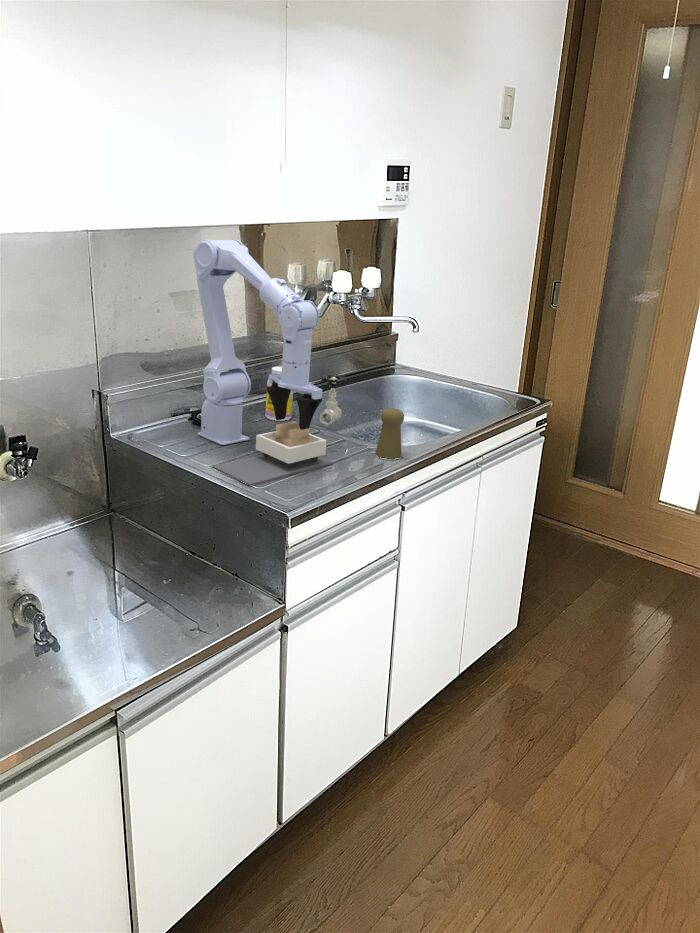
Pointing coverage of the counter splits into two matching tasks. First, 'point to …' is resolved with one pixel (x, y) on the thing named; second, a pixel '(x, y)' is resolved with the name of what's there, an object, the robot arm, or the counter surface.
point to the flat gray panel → (267, 468)
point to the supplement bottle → (269, 406)
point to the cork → (390, 434)
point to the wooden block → (291, 434)
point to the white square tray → (290, 448)
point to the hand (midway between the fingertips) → (292, 423)
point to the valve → (331, 400)
